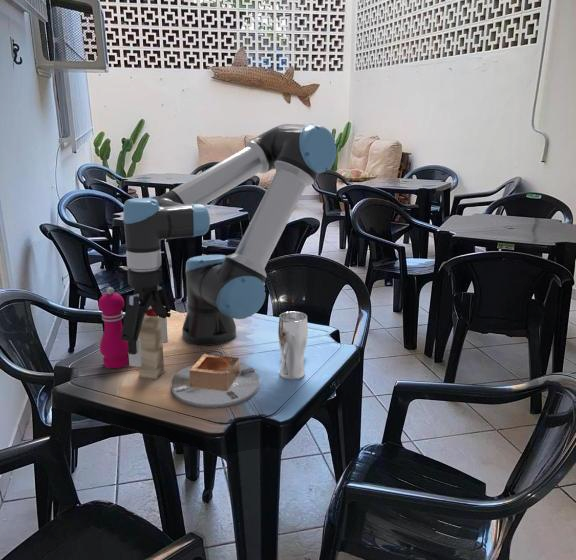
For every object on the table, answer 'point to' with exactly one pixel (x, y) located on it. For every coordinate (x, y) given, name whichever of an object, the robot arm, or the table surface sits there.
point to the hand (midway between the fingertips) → (149, 353)
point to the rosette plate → (215, 382)
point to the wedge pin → (151, 347)
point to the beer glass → (292, 343)
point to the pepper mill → (113, 330)
